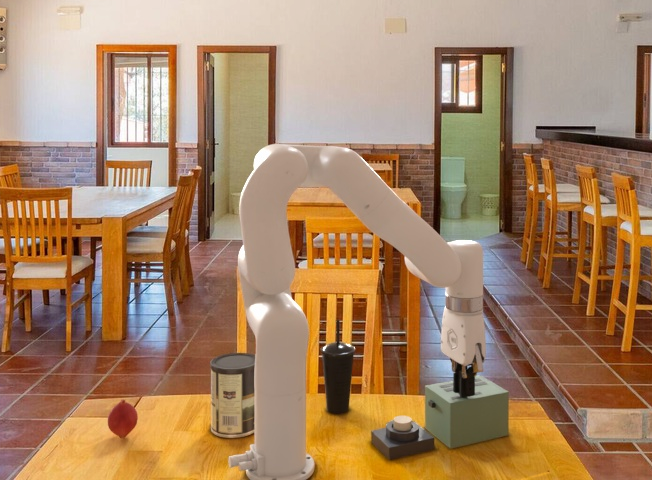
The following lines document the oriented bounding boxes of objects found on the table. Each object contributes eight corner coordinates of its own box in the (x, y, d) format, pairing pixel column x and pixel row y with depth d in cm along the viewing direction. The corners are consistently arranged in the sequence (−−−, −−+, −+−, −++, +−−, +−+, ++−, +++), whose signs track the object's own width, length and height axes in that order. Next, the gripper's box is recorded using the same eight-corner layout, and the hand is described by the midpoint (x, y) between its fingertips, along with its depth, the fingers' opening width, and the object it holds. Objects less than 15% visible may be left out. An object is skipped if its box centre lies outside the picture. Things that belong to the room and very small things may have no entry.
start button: (398, 433, 138) (398, 424, 138) (390, 426, 141) (390, 417, 141) (414, 430, 139) (414, 421, 139) (406, 422, 142) (406, 414, 142)
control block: (389, 460, 134) (389, 439, 134) (371, 442, 142) (371, 422, 142) (434, 449, 138) (434, 429, 138) (414, 433, 146) (414, 413, 146)
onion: (101, 440, 142) (101, 400, 142) (123, 428, 148) (123, 390, 147) (122, 446, 140) (122, 406, 140) (143, 434, 145) (143, 396, 145)
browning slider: (462, 397, 141) (462, 373, 141) (458, 394, 143) (458, 370, 143) (469, 395, 142) (469, 372, 142) (465, 393, 143) (465, 369, 143)
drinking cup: (351, 418, 152) (351, 326, 152) (316, 415, 154) (316, 324, 154) (358, 404, 160) (358, 316, 160) (325, 401, 161) (325, 314, 161)
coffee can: (253, 413, 155) (253, 349, 155) (265, 433, 145) (265, 365, 145) (206, 421, 151) (206, 355, 151) (214, 442, 142) (214, 372, 141)
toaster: (446, 449, 138) (446, 403, 138) (421, 429, 148) (421, 385, 147) (508, 435, 145) (508, 391, 145) (480, 416, 154) (480, 374, 154)
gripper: (428, 295, 148) (428, 383, 148) (470, 315, 133) (470, 412, 134) (458, 292, 151) (458, 377, 151) (503, 310, 137) (502, 405, 137)
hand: (464, 393), depth 142 cm, fingers closed on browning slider
